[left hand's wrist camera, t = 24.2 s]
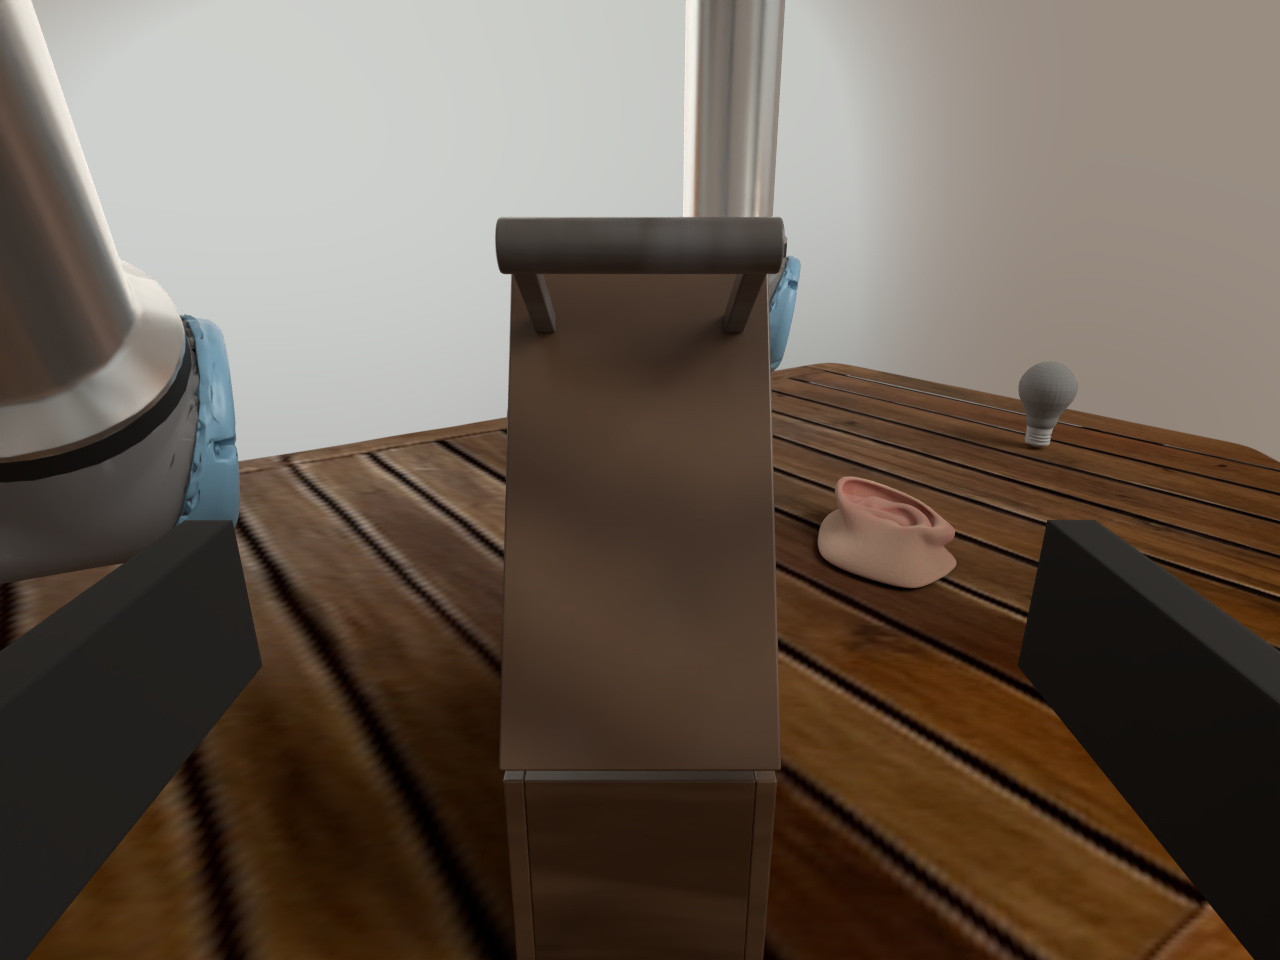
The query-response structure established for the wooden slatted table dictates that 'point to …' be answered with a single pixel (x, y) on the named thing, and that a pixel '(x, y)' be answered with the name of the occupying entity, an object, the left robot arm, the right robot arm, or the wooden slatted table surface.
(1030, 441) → the light bulb
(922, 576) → the anatomical model
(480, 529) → the wooden slatted table surface
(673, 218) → the lid
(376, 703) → the wooden slatted table surface
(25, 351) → the left robot arm
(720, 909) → the chest
